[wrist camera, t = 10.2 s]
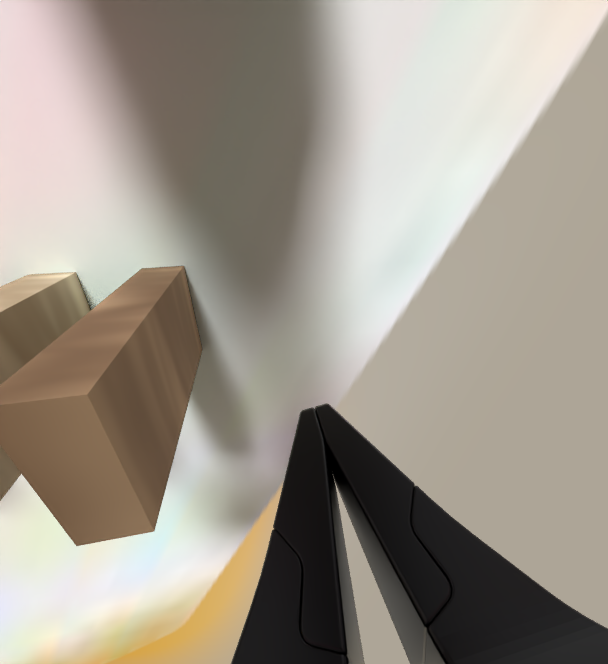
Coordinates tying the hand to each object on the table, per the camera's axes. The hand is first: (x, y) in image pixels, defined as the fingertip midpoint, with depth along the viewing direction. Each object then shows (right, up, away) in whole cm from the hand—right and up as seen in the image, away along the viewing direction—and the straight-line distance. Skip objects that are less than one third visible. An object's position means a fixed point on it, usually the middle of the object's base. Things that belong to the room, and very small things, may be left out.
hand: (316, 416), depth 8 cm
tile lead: (-7, +4, +7) cm, 11 cm away
